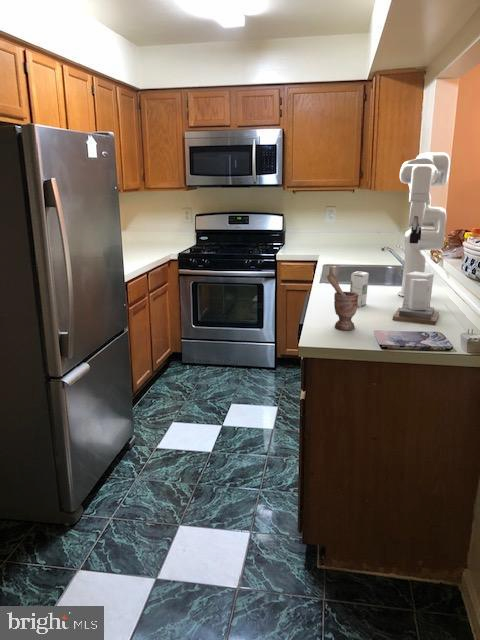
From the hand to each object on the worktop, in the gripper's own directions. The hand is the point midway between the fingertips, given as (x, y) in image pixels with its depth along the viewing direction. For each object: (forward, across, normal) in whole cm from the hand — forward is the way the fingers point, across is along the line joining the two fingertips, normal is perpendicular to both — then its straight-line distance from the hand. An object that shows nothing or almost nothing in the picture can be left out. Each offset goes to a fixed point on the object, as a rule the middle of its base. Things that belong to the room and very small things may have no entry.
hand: (415, 241), depth 207 cm
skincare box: (+26, +9, +4) cm, 28 cm away
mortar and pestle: (+28, +37, -20) cm, 51 cm away
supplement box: (+30, -9, +2) cm, 32 cm away
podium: (+29, +9, +4) cm, 31 cm away
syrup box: (+30, -2, -22) cm, 37 cm away
